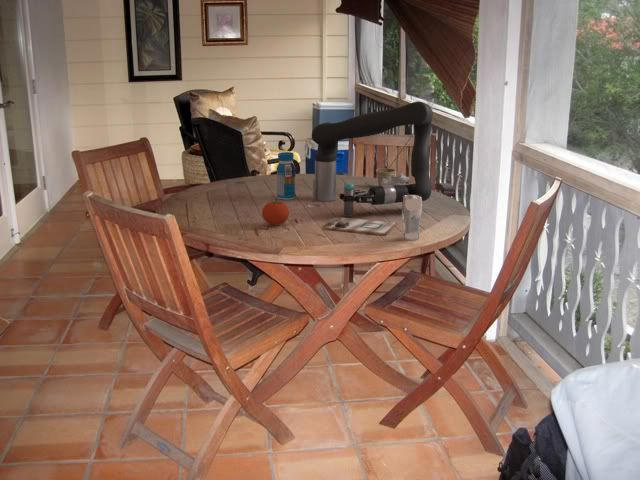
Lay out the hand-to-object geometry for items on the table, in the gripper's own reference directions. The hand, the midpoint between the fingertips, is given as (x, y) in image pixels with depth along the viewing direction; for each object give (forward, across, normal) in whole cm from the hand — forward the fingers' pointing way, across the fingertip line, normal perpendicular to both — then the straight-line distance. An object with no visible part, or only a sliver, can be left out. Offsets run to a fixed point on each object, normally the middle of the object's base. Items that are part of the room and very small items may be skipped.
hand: (342, 197), depth 264 cm
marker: (-3, 0, +7) cm, 8 cm away
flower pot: (-39, -46, +8) cm, 60 cm away
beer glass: (-13, +35, +8) cm, 38 cm away
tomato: (+27, +2, +8) cm, 29 cm away
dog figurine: (-36, -30, +8) cm, 47 cm away
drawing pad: (-2, +15, +8) cm, 17 cm away
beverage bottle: (+11, -40, +8) cm, 43 cm away
